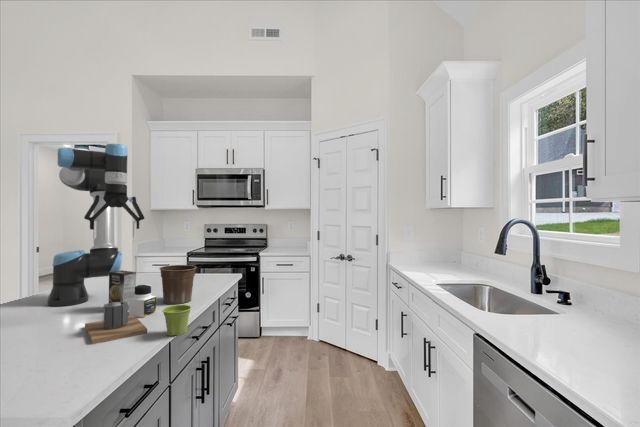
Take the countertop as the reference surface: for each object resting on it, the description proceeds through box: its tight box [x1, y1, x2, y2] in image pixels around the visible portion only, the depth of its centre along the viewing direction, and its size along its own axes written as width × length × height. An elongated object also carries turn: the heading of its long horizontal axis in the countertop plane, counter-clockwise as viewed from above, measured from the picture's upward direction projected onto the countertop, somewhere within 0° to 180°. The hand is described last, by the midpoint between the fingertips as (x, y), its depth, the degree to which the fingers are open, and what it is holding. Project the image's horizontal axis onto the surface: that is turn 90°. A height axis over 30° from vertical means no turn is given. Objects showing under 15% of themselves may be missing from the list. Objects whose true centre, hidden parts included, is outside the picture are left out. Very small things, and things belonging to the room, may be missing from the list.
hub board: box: [84, 302, 148, 345], centre depth 120 cm, size 20×16×10 cm
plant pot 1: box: [159, 264, 198, 305], centre depth 161 cm, size 16×16×16 cm
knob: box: [103, 302, 129, 327], centre depth 120 cm, size 7×8×7 cm
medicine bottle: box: [128, 284, 157, 318], centre depth 139 cm, size 7×7×12 cm
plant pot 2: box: [161, 304, 193, 337], centre depth 118 cm, size 9×9×9 cm
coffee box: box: [108, 269, 137, 311], centre depth 147 cm, size 9×6×16 cm
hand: (115, 237), depth 133 cm, fingers open, 13 cm apart
